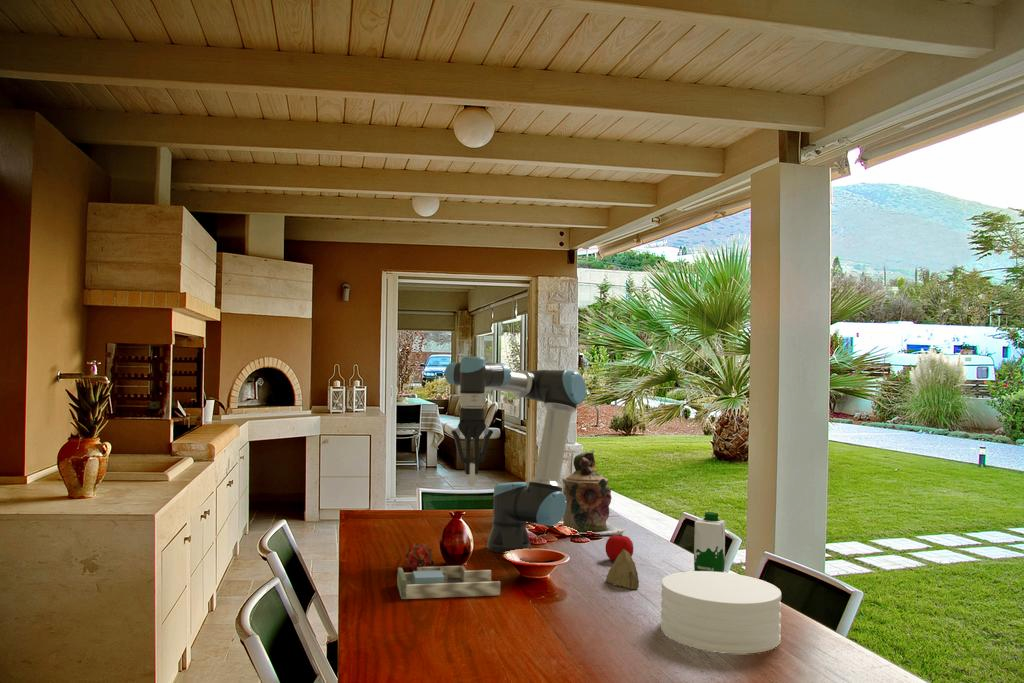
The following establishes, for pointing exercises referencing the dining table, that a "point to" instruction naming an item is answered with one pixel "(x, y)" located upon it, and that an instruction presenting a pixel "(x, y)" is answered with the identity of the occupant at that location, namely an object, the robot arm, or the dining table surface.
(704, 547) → the milk carton
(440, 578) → the block
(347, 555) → the dining table surface
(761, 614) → the plate stack
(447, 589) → the tray
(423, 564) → the dragon fruit
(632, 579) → the rock
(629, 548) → the fruit
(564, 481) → the cookie jar
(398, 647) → the dining table surface
